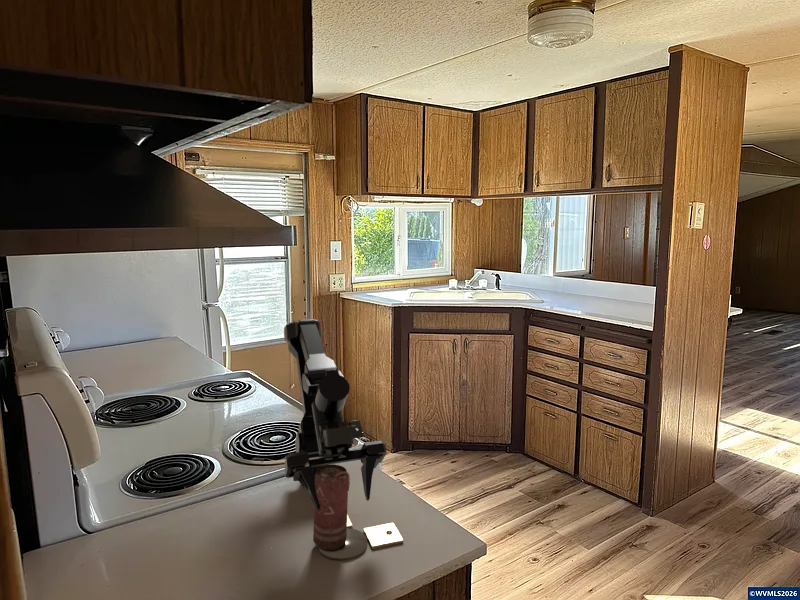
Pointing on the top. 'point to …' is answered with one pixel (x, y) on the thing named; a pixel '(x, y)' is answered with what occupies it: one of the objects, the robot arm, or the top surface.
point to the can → (331, 507)
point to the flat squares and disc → (364, 541)
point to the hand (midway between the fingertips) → (343, 504)
